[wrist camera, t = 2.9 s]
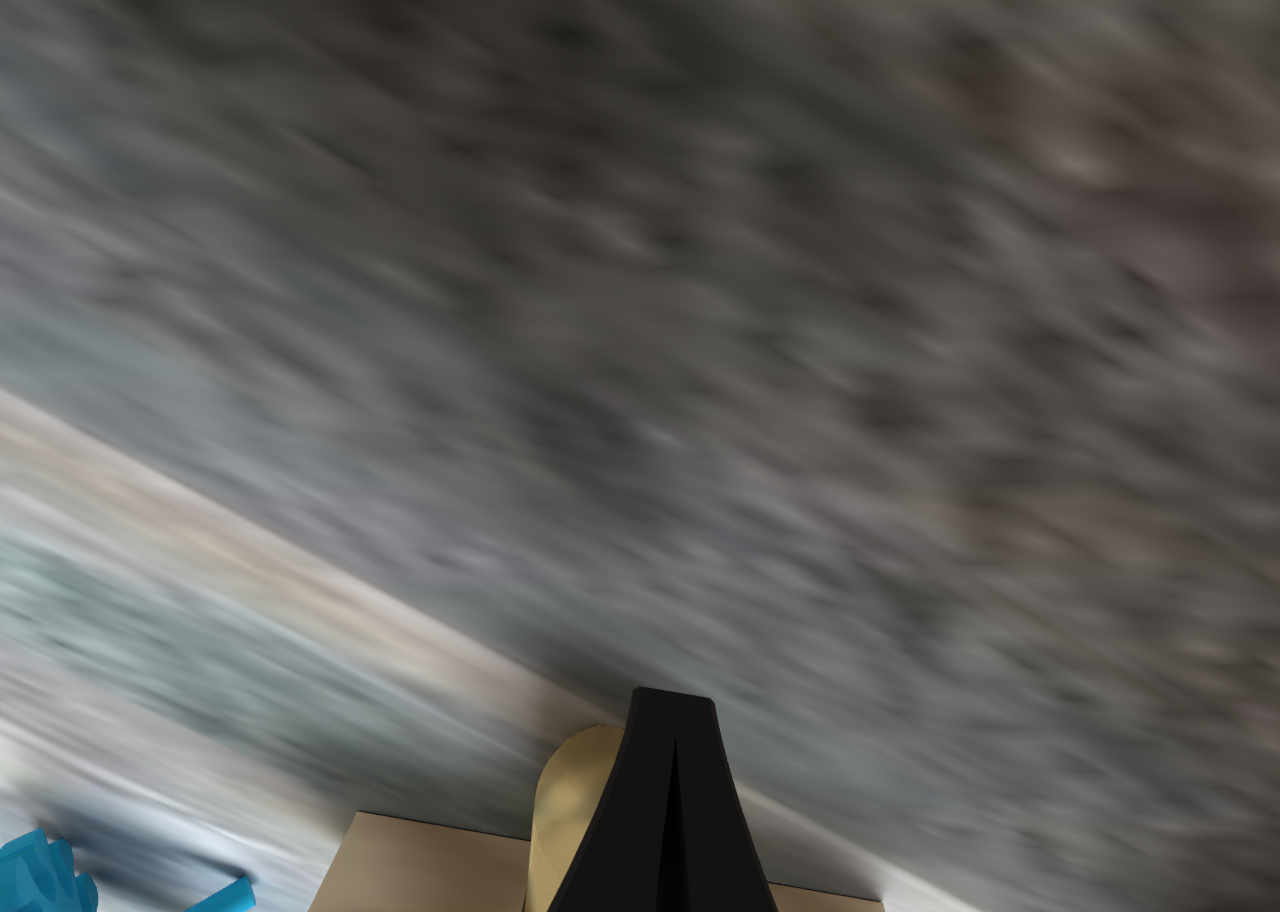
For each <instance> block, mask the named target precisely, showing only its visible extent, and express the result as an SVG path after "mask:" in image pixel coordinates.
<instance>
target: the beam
mask: <svg viewBox="0 0 1280 912" xmlns="http://www.w3.org/2000/svg"><path fill="white" fill-rule="evenodd" d="M530 846H531V842H529V841H524V840H518V839H512V838H506V837H501V836H495V835H489V834H483V833H478V832H472V831H466V830H461V829H455V828H449V827H443V826H438V825H432V824H426V823H420V822H415V821H409V820H403V819H397V818H392V817H386V816H380V815H374V814H369V813H363V812H357V813H356V815H355V817H354V819H353V821H352V823H351V825H350V827H349V829H348V831H347V833H346V835H345V837H344V839H343V841H342V843H341V845H340V848H339V850H338V852H337V854H336V856H335V858H334V860H333V862H332V864H331V866H330V868H329V870H328V872H327V874H326V876H325V878H324V880H323V882H322V884H321V886H320V888H319V890H318V892H317V894H316V896H315V898H314V900H313V902H312V904H311V906H310V909H309V911H308V912H525V903H526V892H527V880H528V869H529V858H530ZM768 885H769V888H770V890H771V893H772V896H773V898H774V901H775V903H776V906H777V908H778V911H779V912H885V910H884V905H883V903H879V902H874V901H868V900H862V899H856V898H851V897H845V896H839V895H834V894H828V893H822V892H816V891H811V890H805V889H799V888H793V887H788V886H782V885H776V884H770V883H768Z"/></svg>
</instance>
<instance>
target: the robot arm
mask: <svg viewBox="0 0 1280 912" xmlns="http://www.w3.org/2000/svg"><path fill="white" fill-rule="evenodd" d="M547 912H779V911H778V908H777V906H776V903H775V901H774V898H773V896H772V893H771V890H770V888H769V885H768V883H767V880H766V877H765V875H764V872H763V869H762V867H761V864H760V861H759V858H758V856H757V853H756V850H755V847H754V844H753V841H752V838H751V835H750V832H749V829H748V826H747V823H746V820H745V817H744V814H743V811H742V808H741V805H740V802H739V799H738V796H737V792H736V789H735V786H734V782H733V779H732V775H731V772H730V768H729V764H728V761H727V757H726V753H725V749H724V746H723V741H722V737H721V733H720V728H719V724H718V719H717V714H716V708H715V703H714V702H713V701H712V700H711V699H710V698H706V697H700V696H695V695H689V694H683V693H677V692H671V691H665V690H659V689H653V688H647V687H641V686H640V687H638V688H636V689H634V690H633V693H632V698H631V703H630V708H629V713H628V718H627V723H626V728H625V732H624V735H623V738H622V742H621V744H620V747H619V750H618V753H617V756H616V759H615V762H614V765H613V768H612V770H611V773H610V775H609V778H608V780H607V783H606V785H605V788H604V790H603V793H602V795H601V798H600V800H599V803H598V805H597V808H596V810H595V812H594V815H593V817H592V819H591V821H590V824H589V826H588V828H587V830H586V832H585V834H584V836H583V839H582V841H581V843H580V845H579V847H578V849H577V851H576V854H575V856H574V858H573V860H572V862H571V864H570V866H569V869H568V871H567V873H566V875H565V877H564V879H563V881H562V883H561V885H560V886H559V888H558V890H557V892H556V894H555V896H554V898H553V900H552V902H551V904H550V906H549V908H548V910H547Z"/></svg>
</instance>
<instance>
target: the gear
mask: <svg viewBox="0 0 1280 912" xmlns="http://www.w3.org/2000/svg"><path fill="white" fill-rule="evenodd" d="M255 905H256V902H255V897H254V894H253V890H252V887H251V884H250V882H249V880H248V878H247V876H244V877H242V878H241V879H239V880H237V881H235V882H234V883H232V884H230V885H229V886H227V887H225V888H223V889H222V890H220V891H218V892H217V893H215V894H213V895H211V896H210V897H208V898H206V899H205V900H203V901H201V902H199V903H198V904H196V905H194V906H193V907H191V908H189V909H187V910H186V911H184V912H245V911H247V910H248V909H250V908H251V907H253V906H255ZM97 906H98V892H97V887H96V885H95V884H94V882H93V880H92V879H91V877H90V876H89V875H88V874H87V873H86V872H85V873H83V874H81V875H79V876H77V877H75V874H74V859H73V853H72V849H71V846H70V845H69V843H68V842H67V841H66V840H65V839H59V840H57V841H55V842H53V843H51V844H49V845H48V842H47V838H46V836H45V833H44V831H43V830H42V828H38V829H36V830H34V831H32V832H30V833H28V834H25V835H23V836H21V837H19V838H17V839H15V840H12V841H10V842H8V843H6V844H5V845H4V846H3V847H2V848H1V849H0V912H97Z"/></svg>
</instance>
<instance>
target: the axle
mask: <svg viewBox="0 0 1280 912" xmlns="http://www.w3.org/2000/svg"><path fill="white" fill-rule="evenodd" d="M624 732H625V729H623V728H618V727H612V726H606V725H597V726H594V727H590V728H588V729H586V730H583V731H581V732H579V733H577V734H576V735H574V736H572V737H571V738H570V739H568V740H567V741H566V742H565V743H563V744H562V745H561V746H560V747H559V748H558V749H557V750H556V751H555V752H554V754H553V755H552V756H551V758H550V759H549V760H548V762H547V764H546V766H545V768H544V769H543V771H542V774H541V776H540V779H539V782H538V785H537V789H536V794H535V802H534V812H533V824H532V835H531V846H530V858H529V869H528V880H527V892H526V903H525V912H547V910H548V908H549V906H550V904H551V902H552V900H553V898H554V896H555V894H556V892H557V890H558V888H559V886H560V885H561V883H562V881H563V879H564V877H565V875H566V873H567V871H568V869H569V866H570V864H571V862H572V860H573V858H574V856H575V854H576V851H577V849H578V847H579V845H580V843H581V841H582V839H583V836H584V834H585V832H586V830H587V828H588V826H589V824H590V821H591V819H592V817H593V815H594V812H595V810H596V808H597V805H598V803H599V800H600V798H601V795H602V793H603V790H604V788H605V785H606V783H607V780H608V778H609V775H610V773H611V770H612V768H613V765H614V762H615V759H616V756H617V753H618V750H619V747H620V744H621V742H622V738H623V735H624Z"/></svg>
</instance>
